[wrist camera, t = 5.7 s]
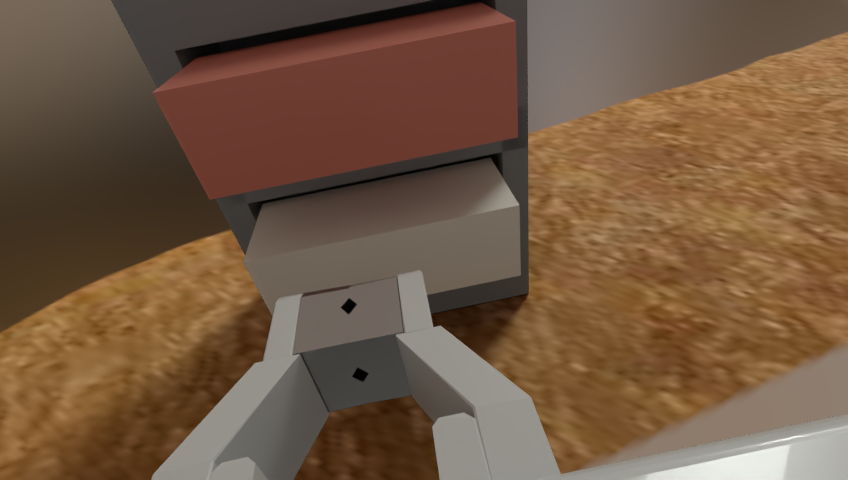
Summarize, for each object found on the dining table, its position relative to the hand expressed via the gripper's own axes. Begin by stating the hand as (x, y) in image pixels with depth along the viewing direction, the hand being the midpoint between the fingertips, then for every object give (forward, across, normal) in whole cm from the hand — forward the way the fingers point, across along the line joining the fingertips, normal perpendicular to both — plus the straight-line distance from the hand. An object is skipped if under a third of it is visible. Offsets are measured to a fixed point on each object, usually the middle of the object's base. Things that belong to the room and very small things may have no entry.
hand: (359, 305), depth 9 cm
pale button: (+8, 0, +6) cm, 10 cm away
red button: (+8, 0, 0) cm, 8 cm away
